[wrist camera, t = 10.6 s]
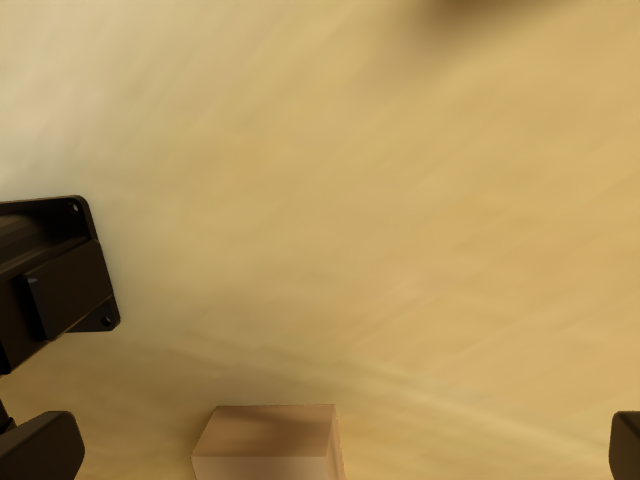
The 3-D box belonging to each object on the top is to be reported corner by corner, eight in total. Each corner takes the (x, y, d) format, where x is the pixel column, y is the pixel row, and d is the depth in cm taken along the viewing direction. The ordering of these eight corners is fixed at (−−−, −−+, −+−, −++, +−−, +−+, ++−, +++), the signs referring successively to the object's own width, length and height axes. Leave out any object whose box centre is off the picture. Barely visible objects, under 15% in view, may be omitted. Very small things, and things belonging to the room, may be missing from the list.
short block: (240, 494, 25) (217, 558, 22) (218, 403, 23) (189, 457, 20) (349, 496, 24) (343, 563, 21) (335, 401, 22) (325, 457, 19)
